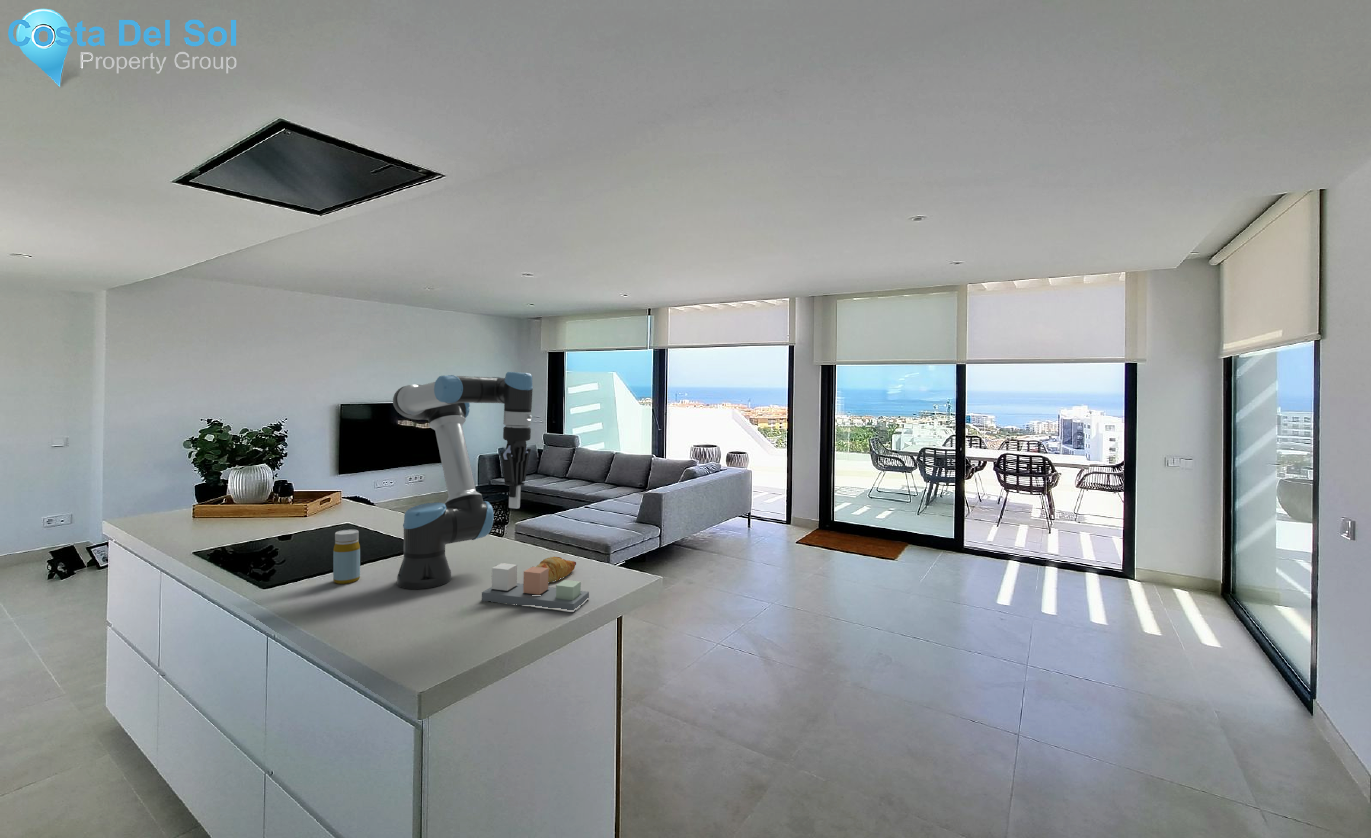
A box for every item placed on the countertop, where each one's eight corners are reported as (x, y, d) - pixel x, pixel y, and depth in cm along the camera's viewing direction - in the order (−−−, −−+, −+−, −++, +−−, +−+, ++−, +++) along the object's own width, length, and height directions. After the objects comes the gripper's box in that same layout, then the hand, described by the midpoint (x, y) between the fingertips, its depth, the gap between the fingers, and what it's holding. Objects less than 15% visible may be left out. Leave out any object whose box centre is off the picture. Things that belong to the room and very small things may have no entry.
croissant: (531, 600, 172) (539, 579, 170) (511, 578, 177) (519, 558, 174) (580, 580, 190) (588, 561, 187) (560, 561, 194) (569, 543, 192)
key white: (491, 588, 162) (491, 567, 162) (501, 583, 167) (501, 563, 167) (507, 590, 161) (507, 569, 161) (516, 585, 166) (517, 564, 166)
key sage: (555, 606, 158) (556, 585, 157) (564, 600, 162) (564, 579, 162) (572, 608, 156) (572, 587, 156) (580, 602, 161) (580, 581, 161)
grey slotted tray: (481, 601, 160) (481, 592, 160) (501, 589, 170) (501, 581, 170) (573, 613, 154) (573, 603, 153) (588, 600, 163) (589, 591, 163)
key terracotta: (523, 592, 160) (523, 571, 160) (532, 587, 165) (532, 566, 164) (539, 594, 159) (539, 573, 158) (548, 588, 163) (548, 568, 163)
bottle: (365, 577, 177) (365, 529, 177) (349, 585, 170) (349, 535, 170) (344, 576, 178) (344, 528, 177) (327, 583, 171) (327, 534, 170)
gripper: (517, 428, 156) (514, 514, 157) (540, 425, 169) (537, 504, 170) (492, 426, 158) (490, 511, 159) (517, 423, 170) (514, 502, 172)
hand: (514, 507), depth 165 cm, fingers closed
